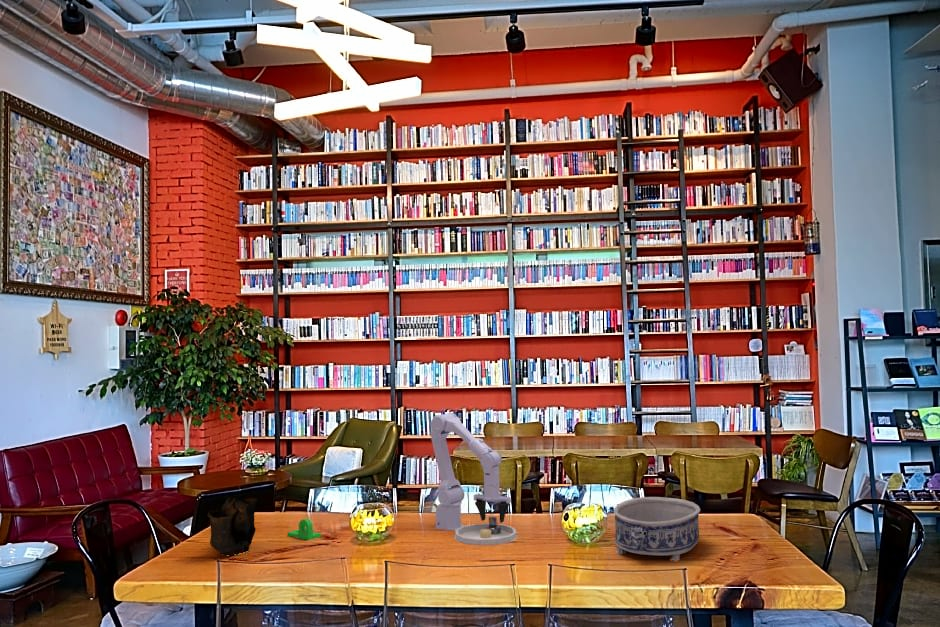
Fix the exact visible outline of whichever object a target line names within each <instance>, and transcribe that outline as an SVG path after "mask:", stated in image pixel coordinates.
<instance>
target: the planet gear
mask: <svg viewBox="0 0 940 627" xmlns="http://www.w3.org/2000/svg"><path fill="white" fill-rule="evenodd" d="M497 520H498V518H497V516H495V515H494V516H488V523H489V526H486V527H485V529H491V534H498V533H501V527H500V526H497V524H498V521H497Z"/></svg>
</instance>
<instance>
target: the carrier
mask: <svg viewBox="0 0 940 627" xmlns="http://www.w3.org/2000/svg"><path fill="white" fill-rule="evenodd" d="M486 526H489V522H488V523H475V524H468V525H465V526H463V527H461V528H459V529H457V530H454V531H455V533H454V534H455V535H454V540H455V541H457V543H462V544H464V545H473V546H494V545H495V546H497V545H501V544H508V543H511V542H514V541H516V540H517V539H518V535H517V534H518V533H517V530H516V528H515V527H513V526H510V525H507V524H503V523H502V524H501V523H500V524H499V523H497V526H500V527H501V533H498V534H491V529H485V527H486Z"/></svg>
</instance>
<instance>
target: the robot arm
mask: <svg viewBox="0 0 940 627" xmlns="http://www.w3.org/2000/svg"><path fill="white" fill-rule="evenodd" d="M429 424H430V427H431V434H430V440H431V442H432V447H433V451H434V456H435V460H436V464H437V469H438V472H439V473H438V474H439V478H440V483H439V485H438V487H437V490H438V495H437V499H438V502H439V504H438V505H436V508H435V528H434V529H439V530H446V531H447V530H448V531H455V530H457V529H459V528H461V527H463V526H466V525H465V524H462V507H461V506H462V504H463V502H462V501H463V500H464V498H465V491H464V488H463V487H462V485H461V482H460V481H459V480H458V479H457V478H456V477H455V473H454V469H453V465H452V464H453V463H452V459H451V456H450V451H449V448H448V443H447V437H448V436H449V434H450V433H454V434H456V435H457V436H458V437H459V438H461V440H463V441H464V442H465V443H466V444H468V449H469V451H471V453H472V454H473V455H475V456H476V457H477V458H478V460H479V461H480V465H481V467H482V472H483V486H484V487H483V493H484V494H481V493H480V494H479V493H478V494H477V493H476V494H474V495H473V501H475V502H474V504H475V506H476V508H477V510H478V513H479V516H480V520H481V521H482V522H484V521H485V520H486V517H487V516H486V507H487V506H486V505H487V502H491V503H492V502H493V503H498V504H497V506H498V507H497V508H498V511H499V513H498V514H499V523H500V524H501V523H502V524H503V523H504V522H505V517H506V513H507V511H508V508H509V506H510V503H512V497H511V496H505V495H501V494H500V493H501V491H500V465H501V464H502V462H503V460H502V459H503V458H502V455H501V453H500V452H499V451H498V450H493V449H492V447H490V446H488V445H487V444H486V443H485V442H484V439H483V438H480V437H475V436H474V435H473V433H471V431H470V430H468V428H466V426H465V425H464V424H463V423H462V422H461V418H460V417H459V416H457V414H455V413H453V412H449V413H444V414H437V415H434V416H433V417H432V419H431V420H430V423H429Z"/></svg>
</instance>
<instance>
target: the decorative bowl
mask: <svg viewBox="0 0 940 627" xmlns="http://www.w3.org/2000/svg"><path fill="white" fill-rule="evenodd" d="M700 512H701V508H700V506H699V505H698V504H696V502H693V501H689V500H686V499H682V498H681V499H680V498H673V497H663V496H662V497H661V496H645V497H635V498H631V499H627V500H624V501H621V502H620V503H619V504H616V506H615V507H614V509H613V514H614V522H615V536H614V541H615V542H614V543H615V545H616V546H617V549H616V550H615V553H616V554H618V555H626V554H627V552H629V553H632V554H636V555H637V554H638V555H645V556H646V555H647V556H671V557H670V558H669V559H671V560H674V561H673V562H677V561H676V560H679V561H681V559H680V555H682V554H685V553H688V552H689V551H691V550H692V549H693V548H694V547H695V546H696V544H697V543H698V542H699V538H700V531H699V513H700ZM697 545H698V544H697Z"/></svg>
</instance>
